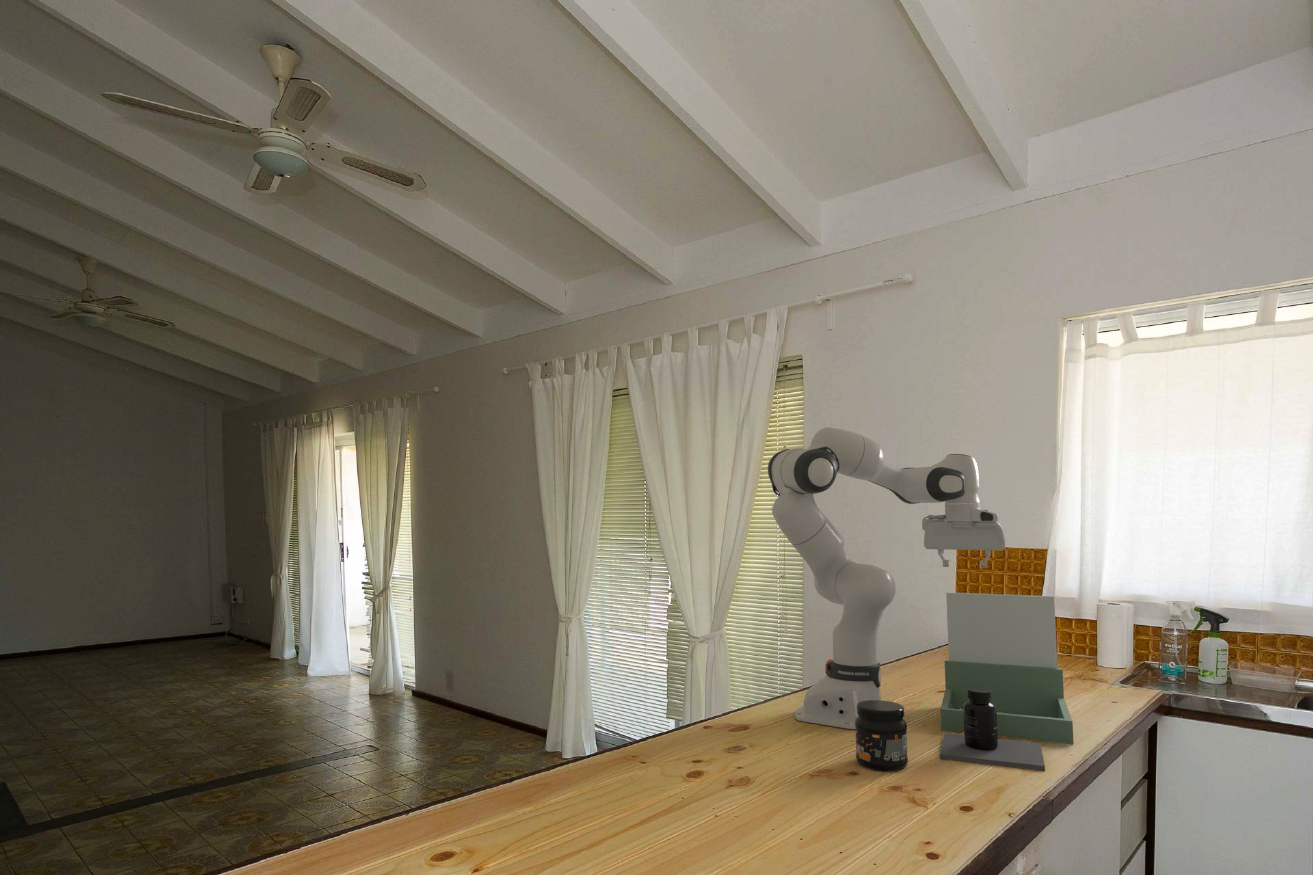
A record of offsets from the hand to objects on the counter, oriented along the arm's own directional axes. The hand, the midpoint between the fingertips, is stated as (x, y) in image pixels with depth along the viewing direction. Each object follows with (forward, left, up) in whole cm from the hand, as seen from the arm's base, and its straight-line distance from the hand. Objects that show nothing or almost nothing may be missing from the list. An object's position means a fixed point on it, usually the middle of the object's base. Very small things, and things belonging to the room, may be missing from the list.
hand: (964, 567), depth 207 cm
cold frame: (+8, -10, -37) cm, 39 cm away
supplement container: (-16, -52, -37) cm, 66 cm away
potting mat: (+5, -36, -37) cm, 52 cm away
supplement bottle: (+3, -35, -36) cm, 50 cm away
